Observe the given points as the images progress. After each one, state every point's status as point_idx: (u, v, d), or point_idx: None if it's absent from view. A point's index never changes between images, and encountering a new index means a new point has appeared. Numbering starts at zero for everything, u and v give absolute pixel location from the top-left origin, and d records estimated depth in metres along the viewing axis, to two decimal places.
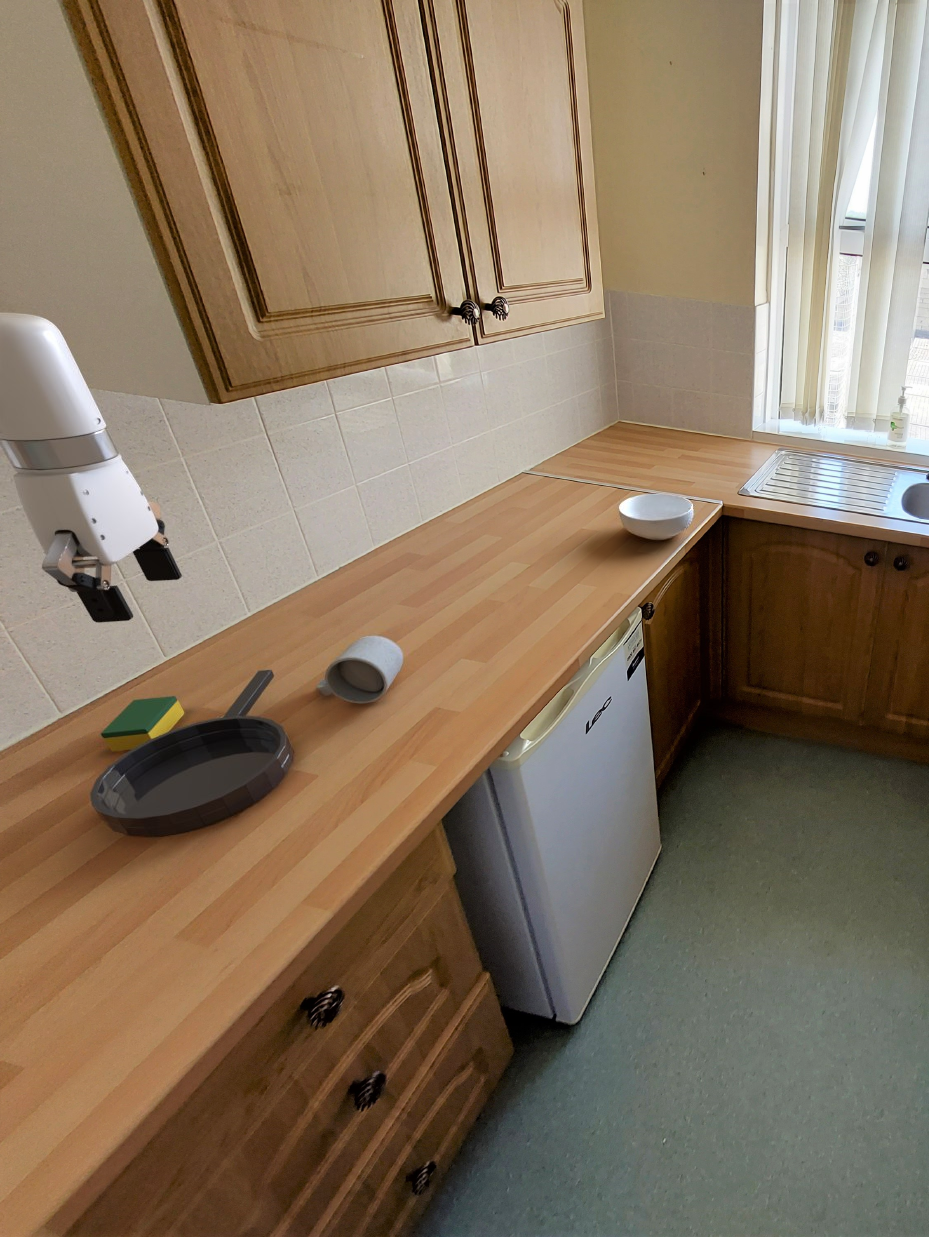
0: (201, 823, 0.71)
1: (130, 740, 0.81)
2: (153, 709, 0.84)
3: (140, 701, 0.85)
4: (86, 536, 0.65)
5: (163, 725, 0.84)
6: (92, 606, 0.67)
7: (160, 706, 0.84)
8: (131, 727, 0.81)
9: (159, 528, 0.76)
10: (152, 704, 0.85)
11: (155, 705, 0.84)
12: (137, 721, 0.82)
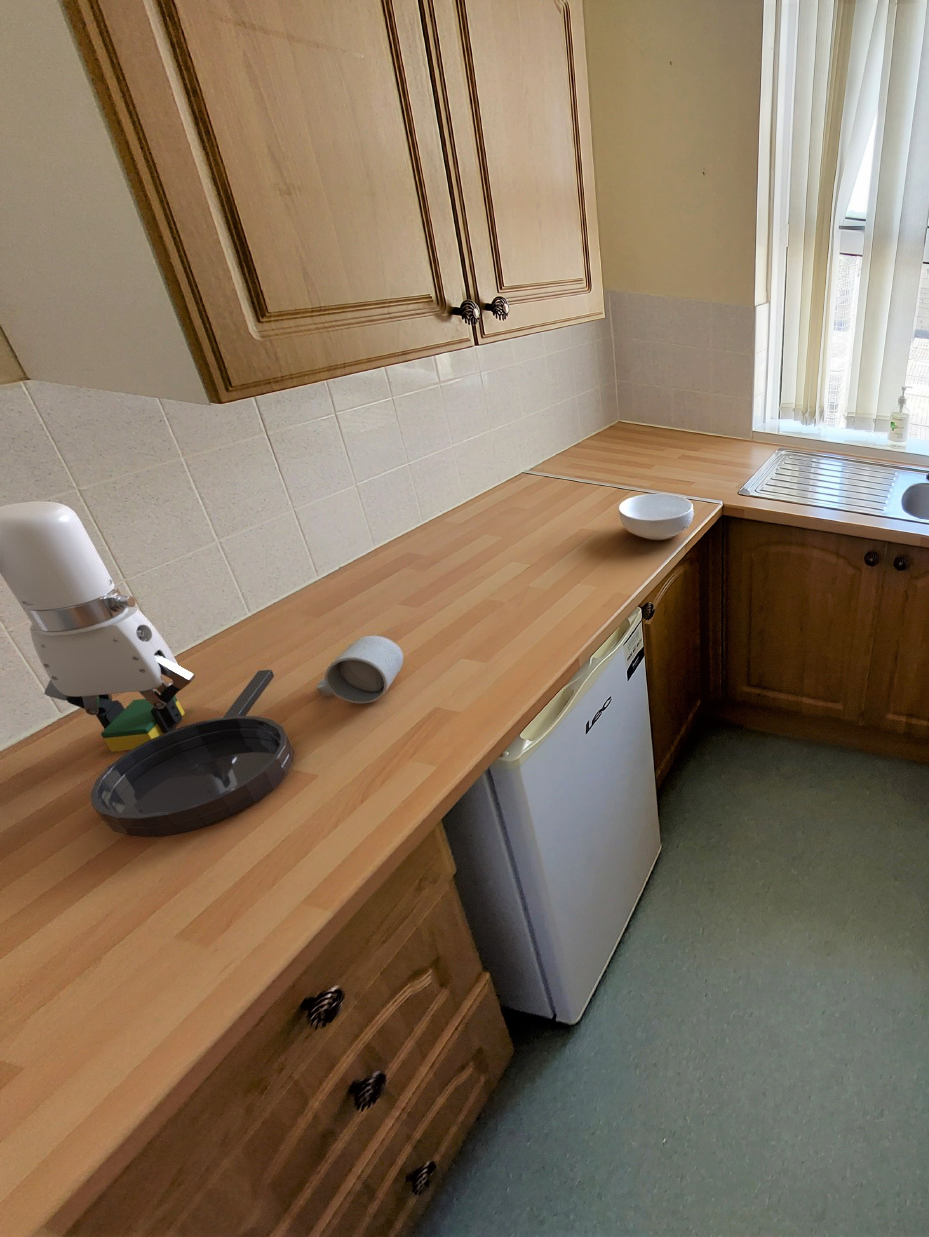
0: (201, 823, 0.71)
1: (130, 740, 0.81)
2: None
3: (140, 701, 0.85)
4: None
5: None
6: None
7: None
8: (131, 727, 0.81)
9: (165, 693, 0.82)
10: None
11: None
12: (137, 721, 0.82)
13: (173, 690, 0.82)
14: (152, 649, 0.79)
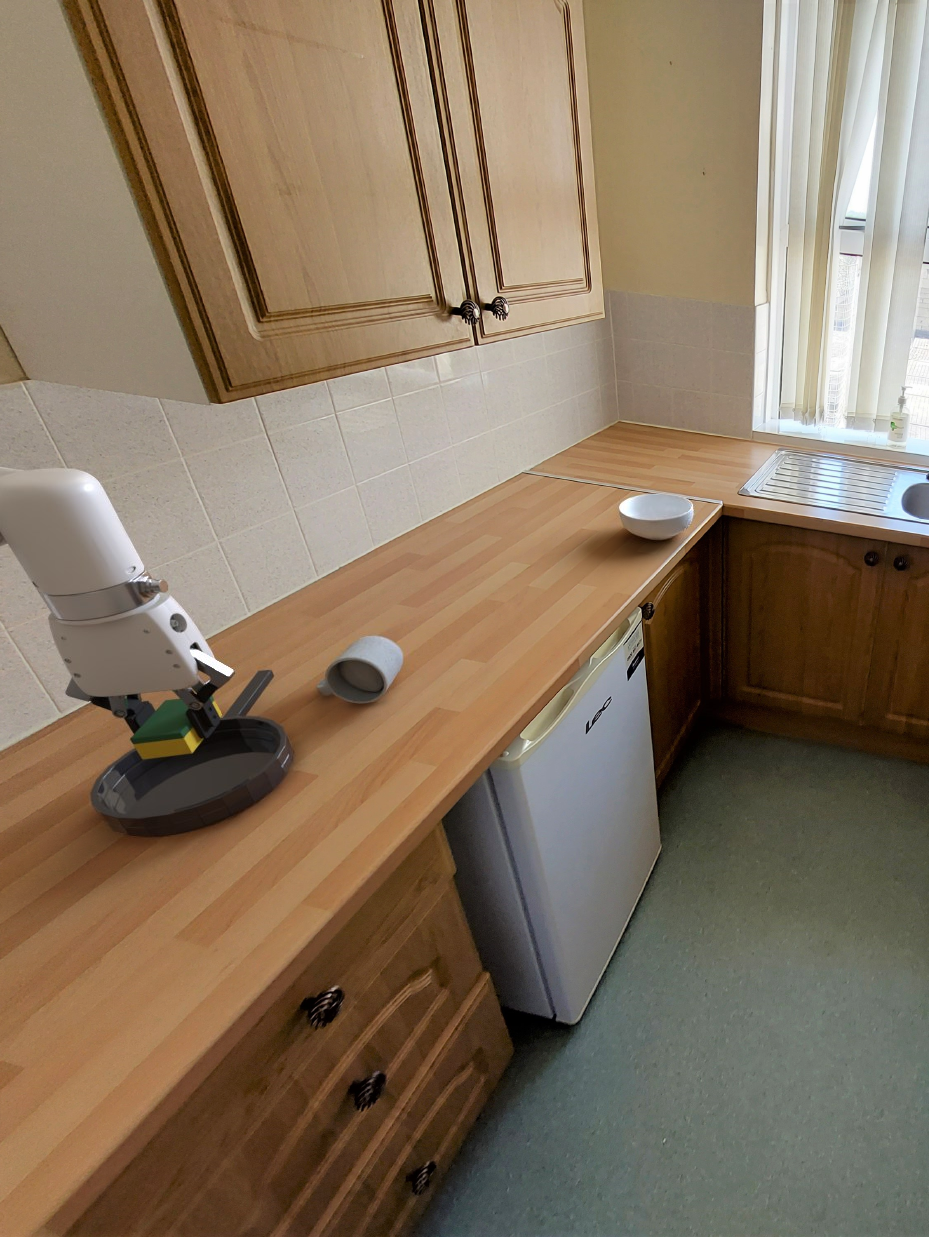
0: (201, 823, 0.71)
1: (163, 746, 0.71)
2: None
3: (173, 701, 0.75)
4: None
5: None
6: None
7: None
8: (164, 731, 0.70)
9: (202, 692, 0.71)
10: (186, 705, 0.74)
11: None
12: (171, 724, 0.71)
13: (211, 688, 0.71)
14: (187, 642, 0.69)
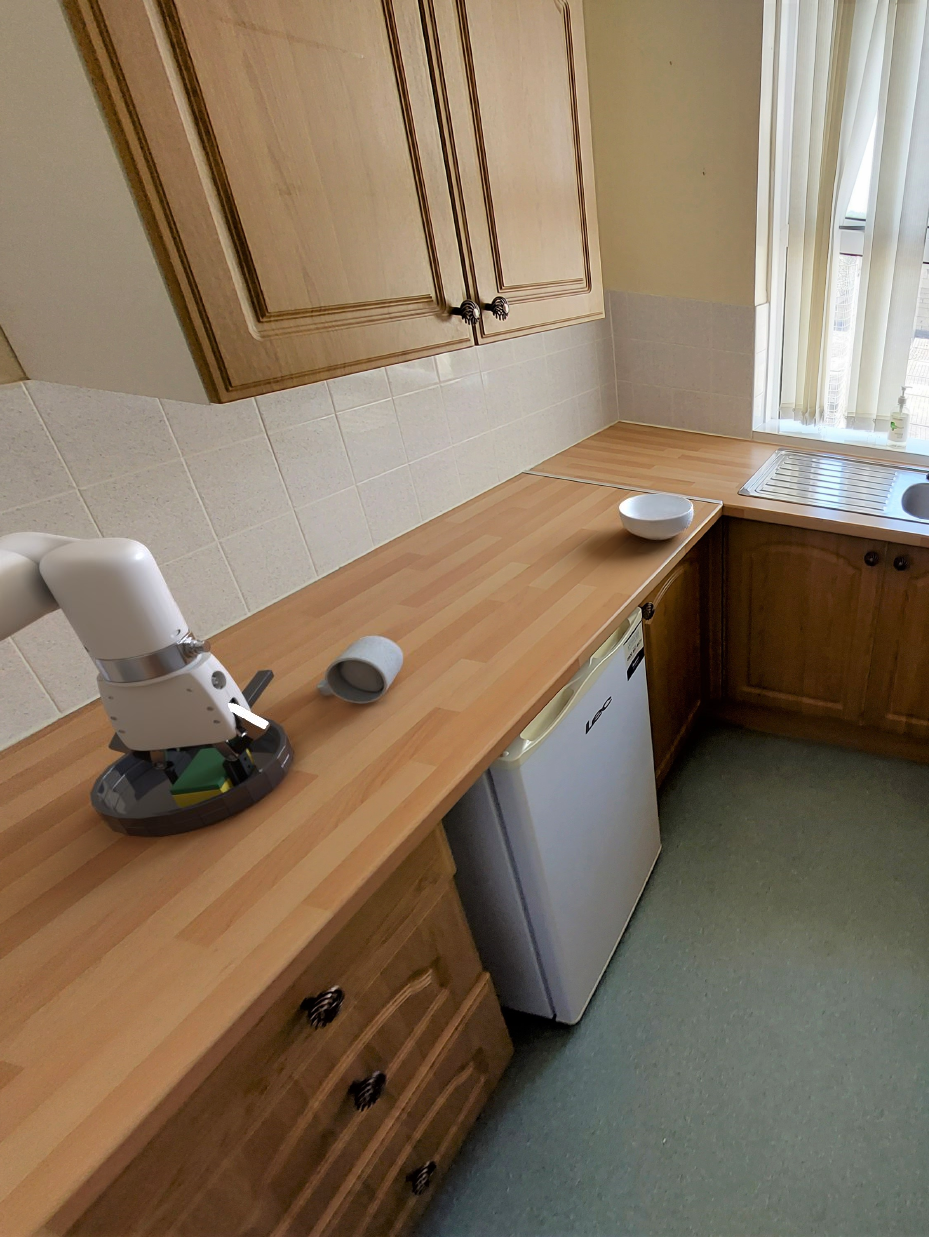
0: (201, 823, 0.71)
1: (201, 797, 0.73)
2: (223, 760, 0.76)
3: (208, 751, 0.77)
4: None
5: None
6: None
7: None
8: (202, 782, 0.73)
9: (239, 744, 0.74)
10: None
11: None
12: (208, 775, 0.74)
13: (247, 741, 0.74)
14: (226, 698, 0.71)
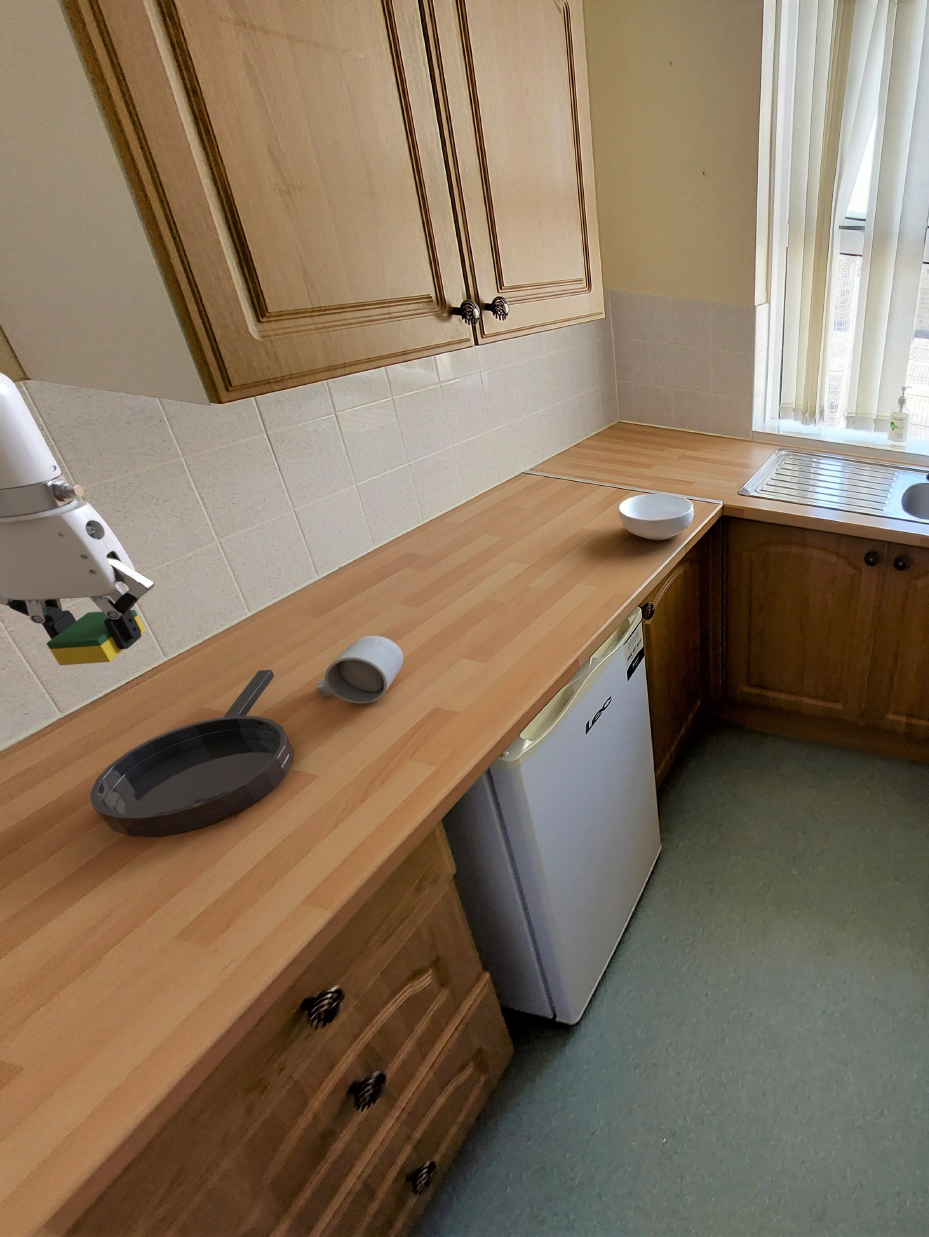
0: (201, 823, 0.71)
1: (80, 652, 0.72)
2: None
3: (95, 614, 0.76)
4: None
5: None
6: None
7: None
8: (81, 638, 0.72)
9: (121, 602, 0.73)
10: None
11: None
12: (89, 632, 0.73)
13: (129, 598, 0.73)
14: (104, 549, 0.70)
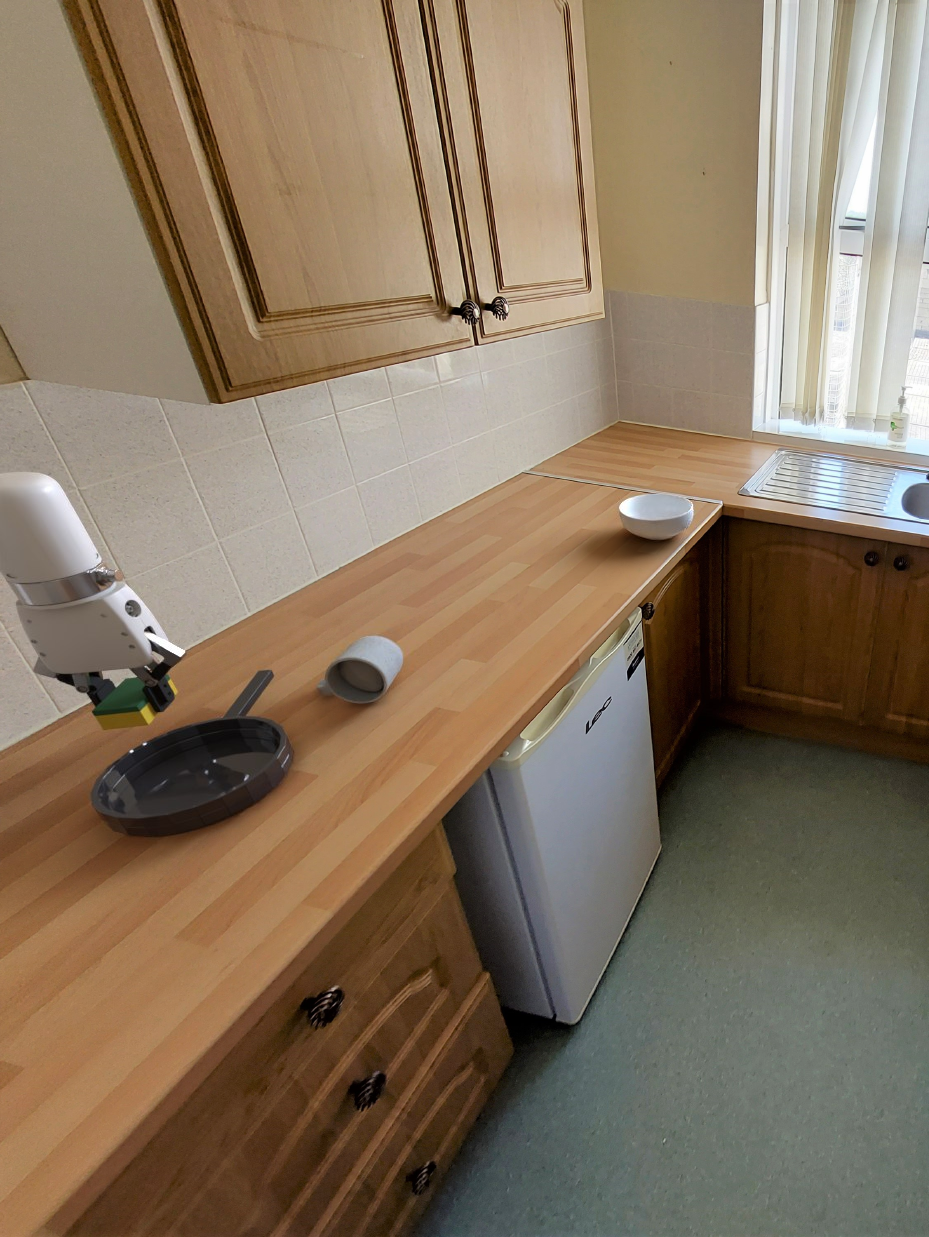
0: (201, 823, 0.71)
1: (122, 718, 0.79)
2: None
3: (132, 679, 0.83)
4: None
5: None
6: None
7: None
8: (122, 705, 0.79)
9: (157, 671, 0.80)
10: None
11: None
12: (129, 699, 0.80)
13: (164, 667, 0.80)
14: (141, 625, 0.78)
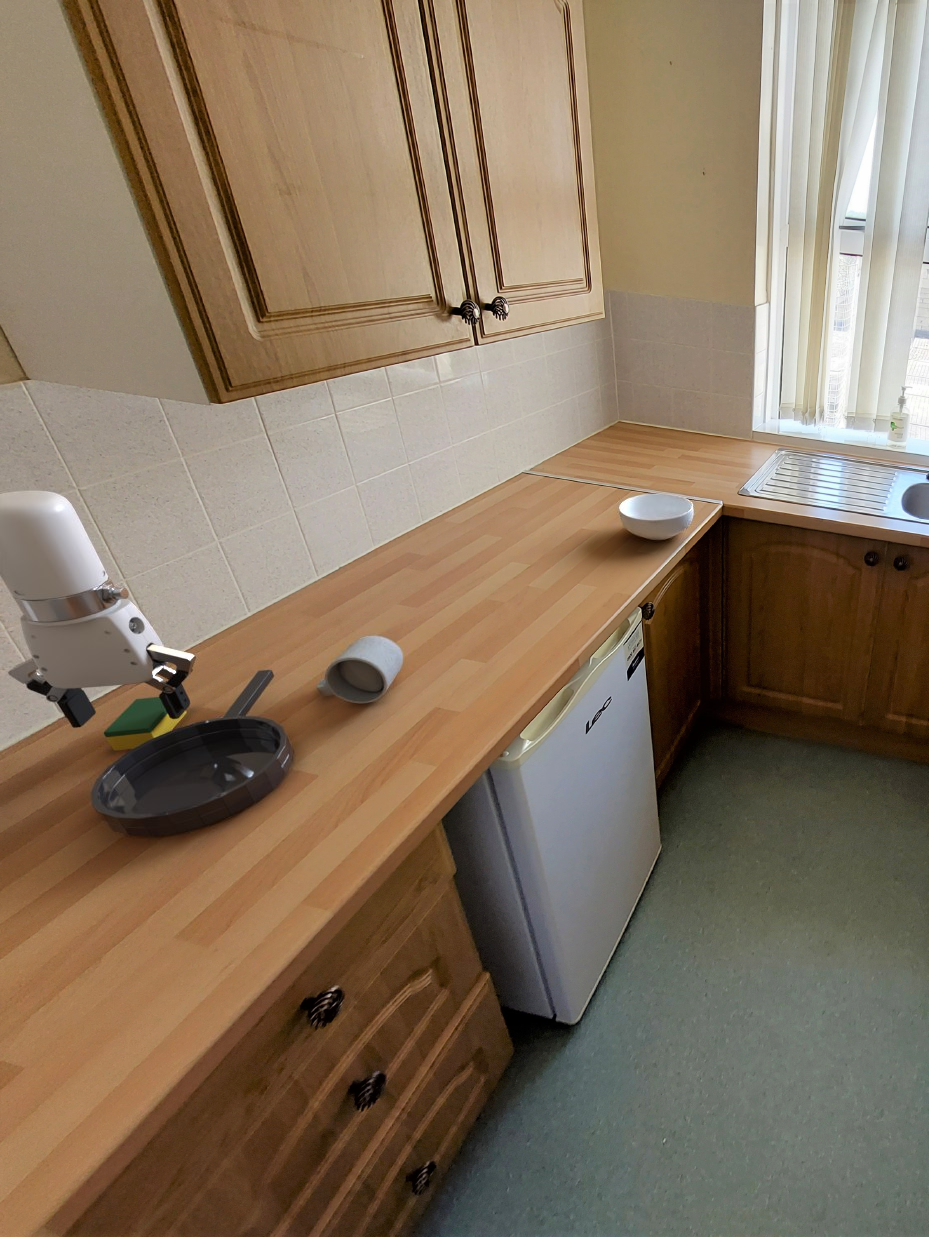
0: (201, 823, 0.71)
1: (133, 739, 0.81)
2: (156, 708, 0.84)
3: (143, 700, 0.85)
4: None
5: (166, 724, 0.84)
6: None
7: (163, 705, 0.85)
8: (134, 726, 0.81)
9: (175, 678, 0.81)
10: (155, 703, 0.85)
11: (158, 704, 0.85)
12: (140, 720, 0.82)
13: (183, 675, 0.81)
14: (144, 642, 0.78)
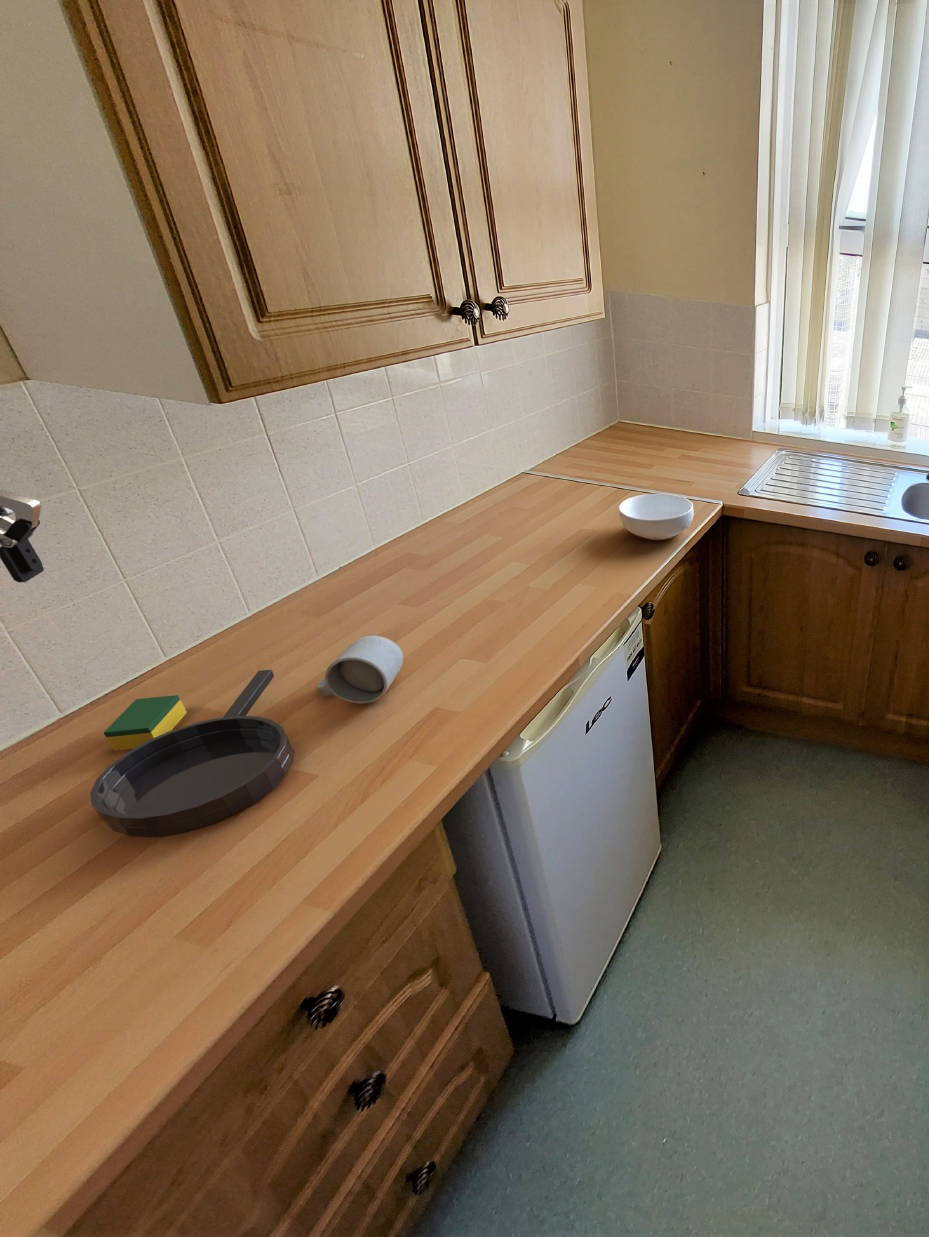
0: (201, 823, 0.71)
1: (133, 739, 0.81)
2: (156, 708, 0.84)
3: (143, 700, 0.85)
4: None
5: (166, 724, 0.84)
6: None
7: (163, 705, 0.85)
8: (134, 726, 0.81)
9: (15, 528, 0.67)
10: (155, 703, 0.85)
11: (158, 704, 0.85)
12: (140, 720, 0.82)
13: (24, 524, 0.67)
14: None
